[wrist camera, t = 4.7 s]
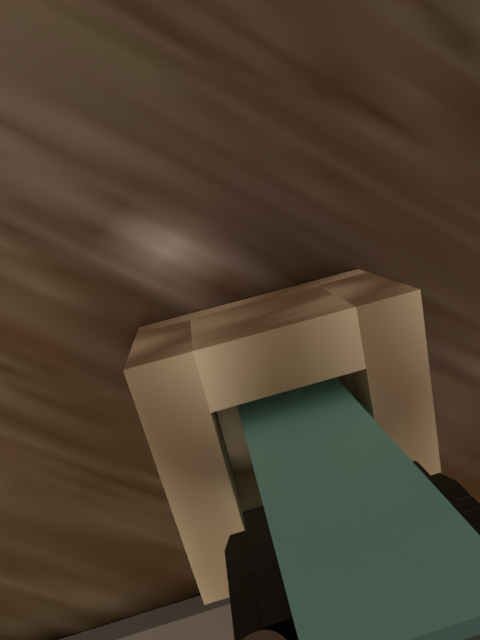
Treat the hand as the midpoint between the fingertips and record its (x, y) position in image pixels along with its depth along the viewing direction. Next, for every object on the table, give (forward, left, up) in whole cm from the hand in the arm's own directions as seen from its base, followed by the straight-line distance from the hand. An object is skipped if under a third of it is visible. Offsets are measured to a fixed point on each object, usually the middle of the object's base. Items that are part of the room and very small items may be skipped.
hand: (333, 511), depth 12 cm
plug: (0, 0, -5) cm, 5 cm away
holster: (0, 0, -8) cm, 8 cm away
